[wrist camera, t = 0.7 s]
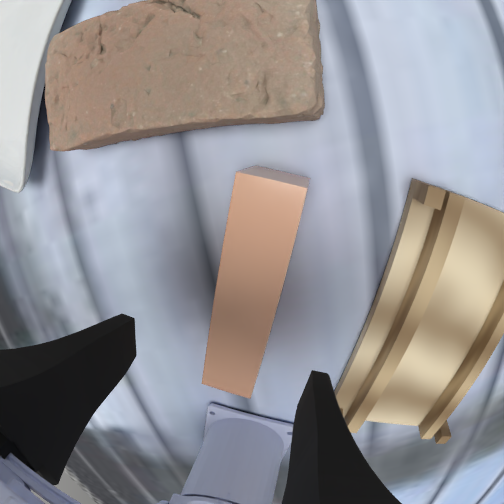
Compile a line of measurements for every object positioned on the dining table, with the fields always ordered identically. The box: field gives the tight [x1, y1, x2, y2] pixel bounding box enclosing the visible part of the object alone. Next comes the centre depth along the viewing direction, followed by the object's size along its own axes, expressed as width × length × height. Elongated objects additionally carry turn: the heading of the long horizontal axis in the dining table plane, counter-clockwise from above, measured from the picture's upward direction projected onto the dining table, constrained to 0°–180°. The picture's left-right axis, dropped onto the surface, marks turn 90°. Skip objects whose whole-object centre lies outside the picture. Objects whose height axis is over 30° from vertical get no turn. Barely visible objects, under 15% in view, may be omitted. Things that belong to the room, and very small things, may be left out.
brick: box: [45, 0, 325, 151], centre depth 14 cm, size 17×8×5 cm, turn 93°
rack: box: [334, 178, 504, 444], centre depth 17 cm, size 18×11×3 cm, turn 170°
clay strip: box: [202, 165, 310, 398], centre depth 18 cm, size 13×3×4 cm, turn 169°
